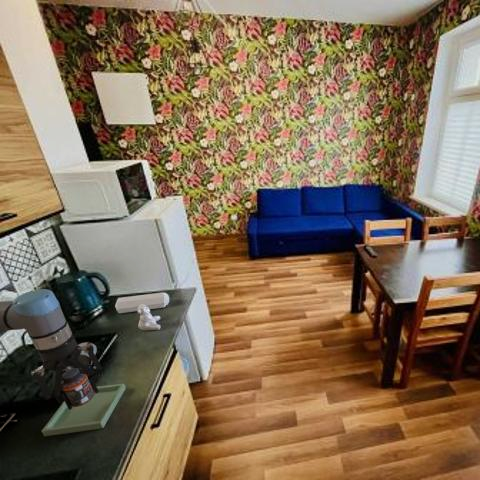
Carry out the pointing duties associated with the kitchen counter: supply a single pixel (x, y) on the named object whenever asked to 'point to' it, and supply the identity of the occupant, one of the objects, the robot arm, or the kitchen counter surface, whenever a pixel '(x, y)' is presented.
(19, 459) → the kitchen counter surface
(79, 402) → the supplement bottle
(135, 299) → the white rounded cylinder
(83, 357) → the ceramic mug
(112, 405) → the bottle tray
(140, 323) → the sitting furry creature
